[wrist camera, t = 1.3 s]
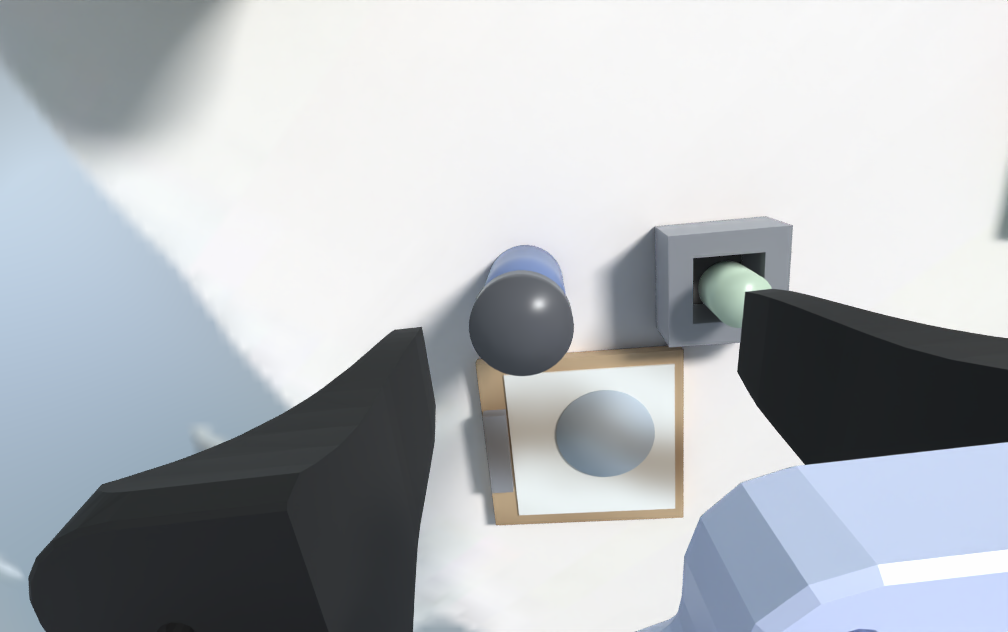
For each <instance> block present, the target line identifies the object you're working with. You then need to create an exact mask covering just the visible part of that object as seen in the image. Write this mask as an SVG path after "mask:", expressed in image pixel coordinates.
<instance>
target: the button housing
mask: <svg viewBox="0 0 1008 632" xmlns="http://www.w3.org/2000/svg"><path fill="white" fill-rule="evenodd" d="M792 230H793V225H790V224H787V223H784V222H781V221H778V220H775V219H772V218H769V217H766V216H765V217H754V218H743V219H732V220H721V221H710V222H699V223H687V224H676V225H665V226H655V261H656V327H657V329H658V330H659V332H660V334H661V335H662V337H663V338H664V340H665V342H666V343H667V345H668V346H669V347H683V346H698V345H712V344H726V343H740V339H741V329H742V328H734V327H731V326H728V325H726V324H725V323H723V322H722V321H721V320H720V319H719V318H718V317H717V316H716V315H715V314H714V313H713V312H712V311H711V310H710V309H709V308H708V307H707V306H706V305H705V304H697V305H693V258H702V257H713V256H725V255H737V254H742V264H741V265H743V266H745V267H746V268H748V269H750V270H751V271H753V272H755V273H756V274H758V275H759V276H761V277H763V278H764V279H765V280H766V281H767V282H768V283H769V284H770V286H771V288H772V289H780V290H787V291H789V278H790V262H791V246H792Z"/></svg>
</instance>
